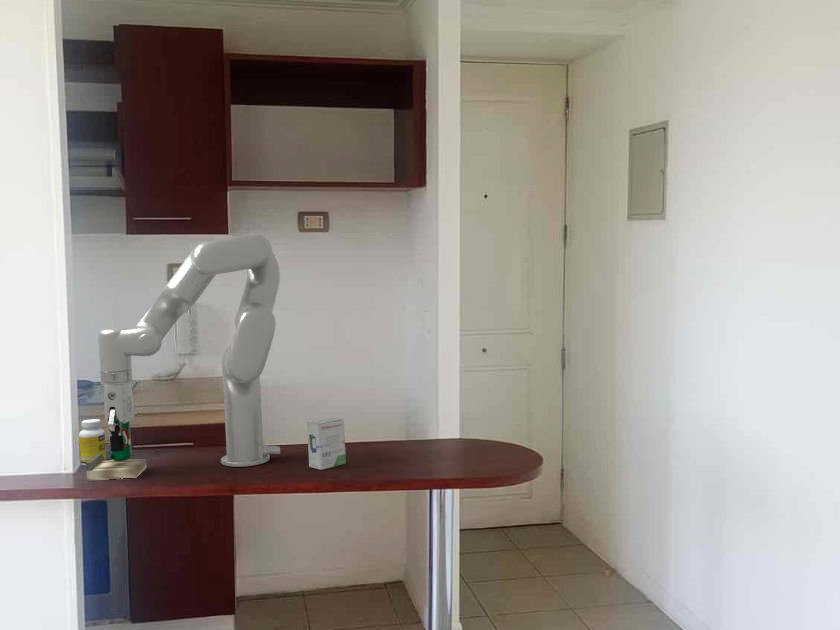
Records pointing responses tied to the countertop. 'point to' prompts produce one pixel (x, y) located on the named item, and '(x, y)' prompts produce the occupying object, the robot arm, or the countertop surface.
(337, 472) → the countertop surface
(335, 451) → the ink box
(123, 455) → the soda can
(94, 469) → the dock
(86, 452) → the pill bottle
